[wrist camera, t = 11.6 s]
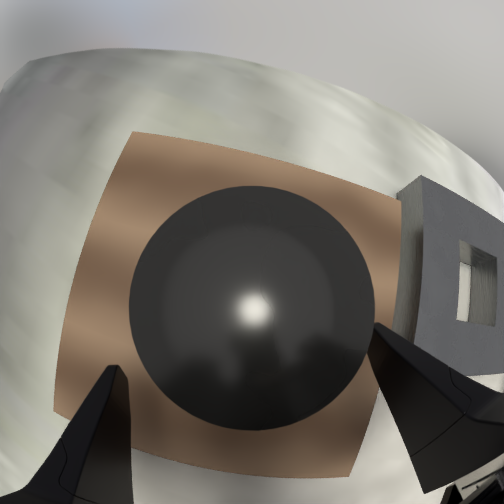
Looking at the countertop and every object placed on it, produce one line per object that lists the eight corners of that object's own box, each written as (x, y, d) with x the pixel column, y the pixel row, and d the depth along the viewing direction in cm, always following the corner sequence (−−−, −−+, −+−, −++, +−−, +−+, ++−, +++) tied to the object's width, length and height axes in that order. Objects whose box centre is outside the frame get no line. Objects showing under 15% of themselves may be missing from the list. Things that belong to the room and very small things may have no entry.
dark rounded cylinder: (272, 331, 17) (402, 361, 4) (212, 355, 16) (190, 460, 3) (248, 273, 17) (316, 161, 5) (188, 295, 17) (101, 233, 4)
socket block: (481, 371, 17) (506, 372, 14) (378, 369, 17) (407, 376, 13) (489, 238, 21) (511, 228, 18) (397, 193, 20) (420, 174, 17)
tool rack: (329, 455, 15) (348, 476, 11) (78, 398, 14) (53, 411, 11) (376, 218, 19) (401, 201, 16) (144, 159, 18) (132, 131, 15)
